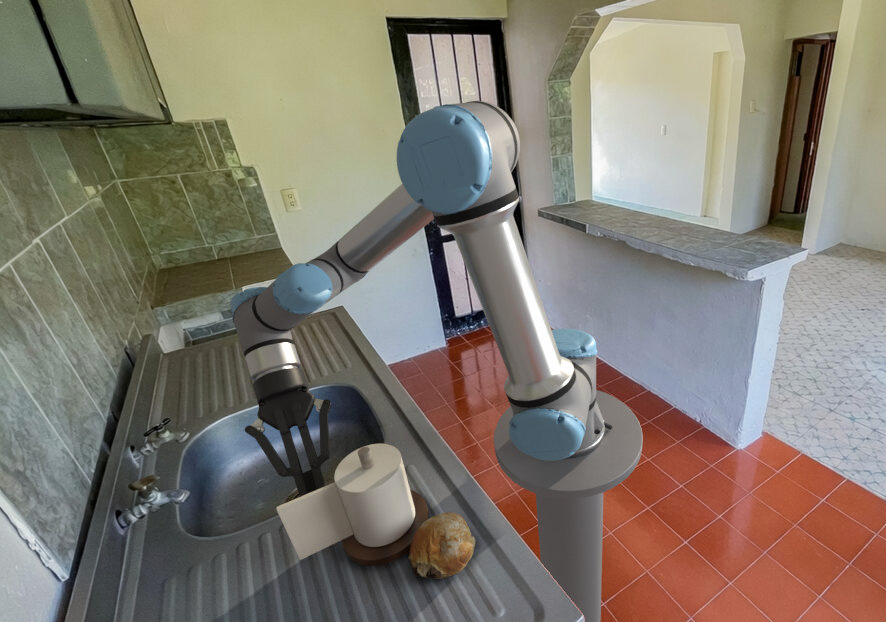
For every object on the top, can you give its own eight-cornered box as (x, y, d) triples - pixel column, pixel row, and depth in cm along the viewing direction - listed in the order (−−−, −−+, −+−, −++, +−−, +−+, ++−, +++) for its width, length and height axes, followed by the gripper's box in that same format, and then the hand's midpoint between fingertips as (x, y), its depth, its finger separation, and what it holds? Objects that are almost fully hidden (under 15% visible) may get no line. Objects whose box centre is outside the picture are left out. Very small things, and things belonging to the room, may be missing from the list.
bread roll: (478, 578, 73) (493, 536, 71) (419, 599, 66) (433, 553, 64) (451, 535, 80) (464, 496, 78) (395, 549, 73) (407, 507, 71)
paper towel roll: (415, 489, 82) (401, 437, 77) (415, 537, 74) (401, 482, 68) (310, 514, 78) (288, 461, 73) (298, 568, 70) (272, 513, 64)
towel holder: (427, 485, 85) (410, 412, 77) (430, 551, 73) (411, 473, 65) (348, 504, 82) (322, 430, 74) (337, 577, 70) (305, 498, 62)
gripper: (320, 367, 83) (361, 492, 78) (238, 393, 77) (277, 530, 72) (317, 356, 77) (361, 491, 72) (226, 383, 71) (268, 533, 66)
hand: (319, 511), depth 72 cm, fingers closed
